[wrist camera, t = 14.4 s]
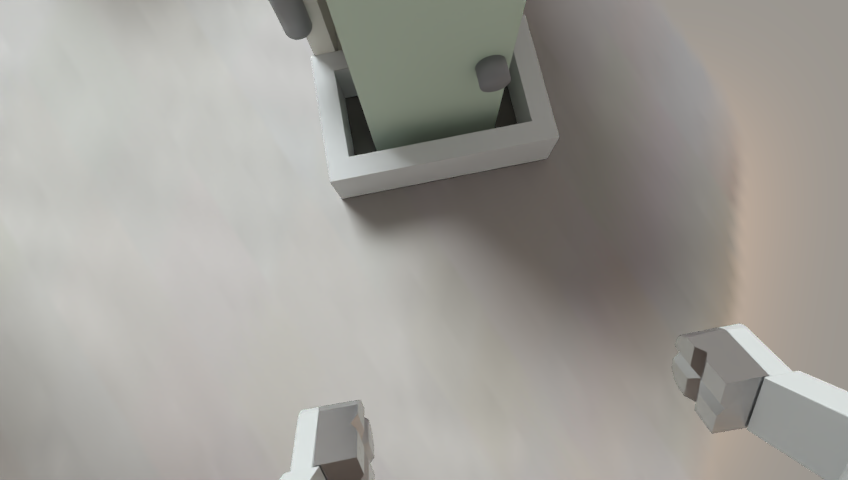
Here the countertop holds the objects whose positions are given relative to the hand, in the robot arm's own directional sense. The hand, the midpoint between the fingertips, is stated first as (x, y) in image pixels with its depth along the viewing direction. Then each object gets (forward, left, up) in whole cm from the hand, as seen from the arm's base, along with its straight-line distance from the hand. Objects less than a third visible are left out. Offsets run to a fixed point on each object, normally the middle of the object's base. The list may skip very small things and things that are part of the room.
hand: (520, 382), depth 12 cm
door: (+4, +12, -9) cm, 16 cm away
